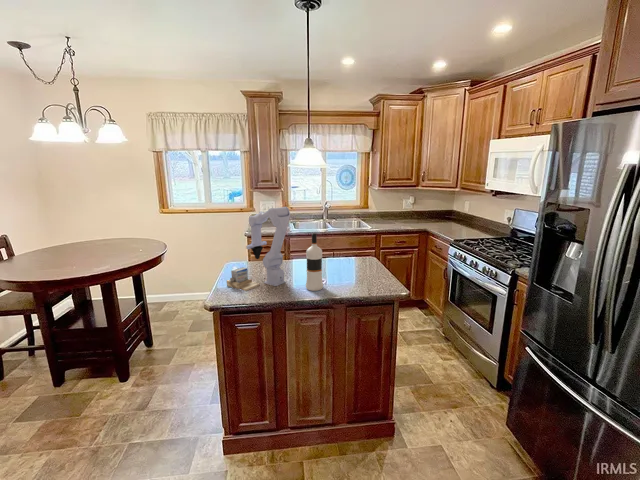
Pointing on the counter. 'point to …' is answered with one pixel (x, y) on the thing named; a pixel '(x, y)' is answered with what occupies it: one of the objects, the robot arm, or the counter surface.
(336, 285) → the counter surface
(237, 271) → the medicine box
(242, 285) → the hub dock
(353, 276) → the counter surface
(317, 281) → the vodka
